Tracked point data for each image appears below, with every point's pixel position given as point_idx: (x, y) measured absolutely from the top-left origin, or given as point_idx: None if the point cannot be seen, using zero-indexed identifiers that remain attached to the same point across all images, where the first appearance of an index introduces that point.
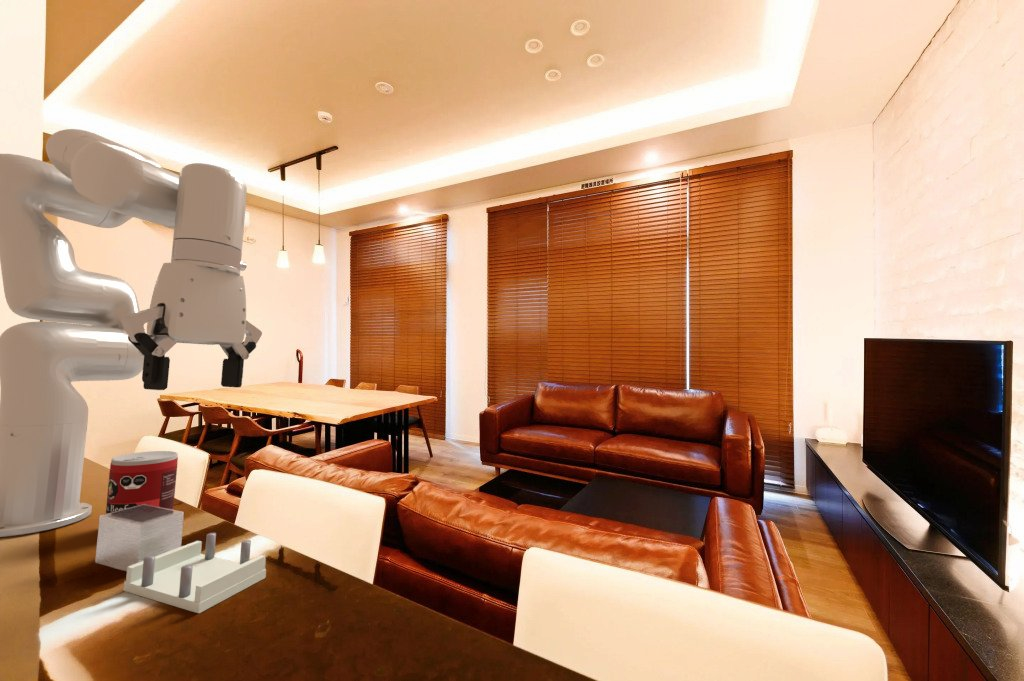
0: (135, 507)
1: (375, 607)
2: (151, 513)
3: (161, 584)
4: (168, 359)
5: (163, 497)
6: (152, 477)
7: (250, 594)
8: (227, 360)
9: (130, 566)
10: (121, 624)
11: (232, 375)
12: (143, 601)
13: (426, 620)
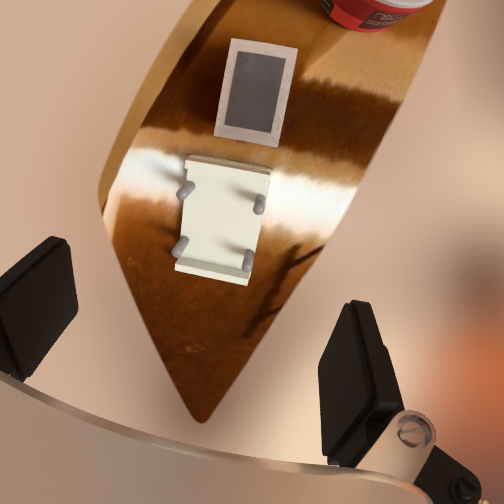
0: (271, 58)
1: (227, 368)
2: (252, 110)
3: (194, 200)
4: (25, 377)
5: (370, 22)
6: (359, 4)
7: None
8: (352, 418)
9: (187, 162)
10: (150, 210)
11: (329, 383)
12: None
13: (222, 393)
